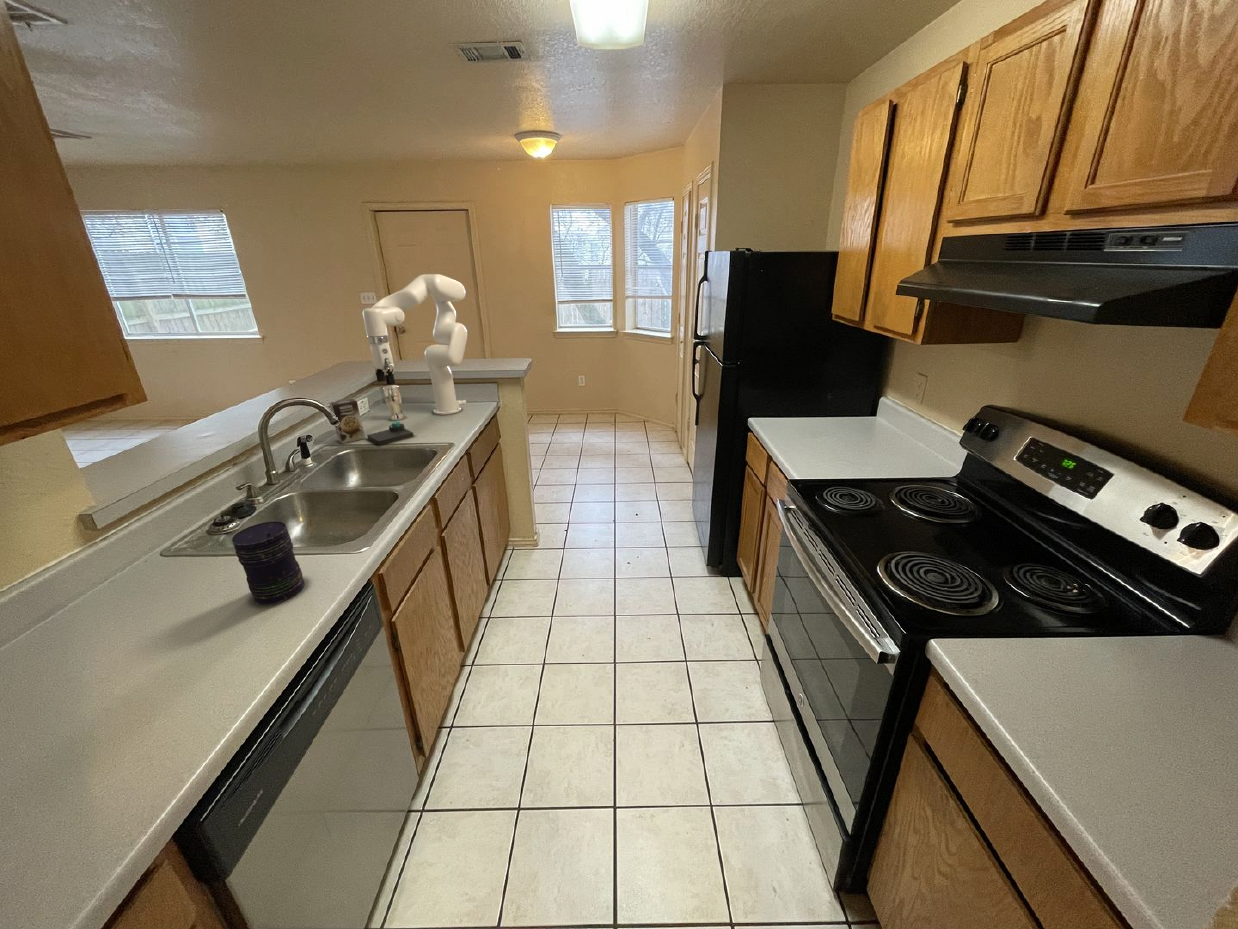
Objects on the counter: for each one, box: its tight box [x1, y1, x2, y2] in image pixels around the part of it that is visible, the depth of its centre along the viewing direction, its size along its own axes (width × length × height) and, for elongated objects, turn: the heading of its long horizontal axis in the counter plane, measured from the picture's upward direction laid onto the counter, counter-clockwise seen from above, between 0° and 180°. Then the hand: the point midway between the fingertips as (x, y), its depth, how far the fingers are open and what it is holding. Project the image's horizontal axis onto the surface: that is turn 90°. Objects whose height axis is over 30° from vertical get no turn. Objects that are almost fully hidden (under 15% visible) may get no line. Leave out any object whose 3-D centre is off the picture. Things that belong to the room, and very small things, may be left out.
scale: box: [366, 423, 414, 446], centre depth 209 cm, size 14×12×4 cm
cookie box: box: [329, 398, 366, 444], centre depth 206 cm, size 9×6×16 cm
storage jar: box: [231, 520, 306, 606], centre depth 109 cm, size 10×10×15 cm
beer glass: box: [382, 384, 405, 421], centre depth 232 cm, size 7×7×15 cm
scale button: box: [391, 421, 401, 427], centre depth 213 cm, size 3×3×2 cm
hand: (386, 382), depth 208 cm, fingers open, 9 cm apart
